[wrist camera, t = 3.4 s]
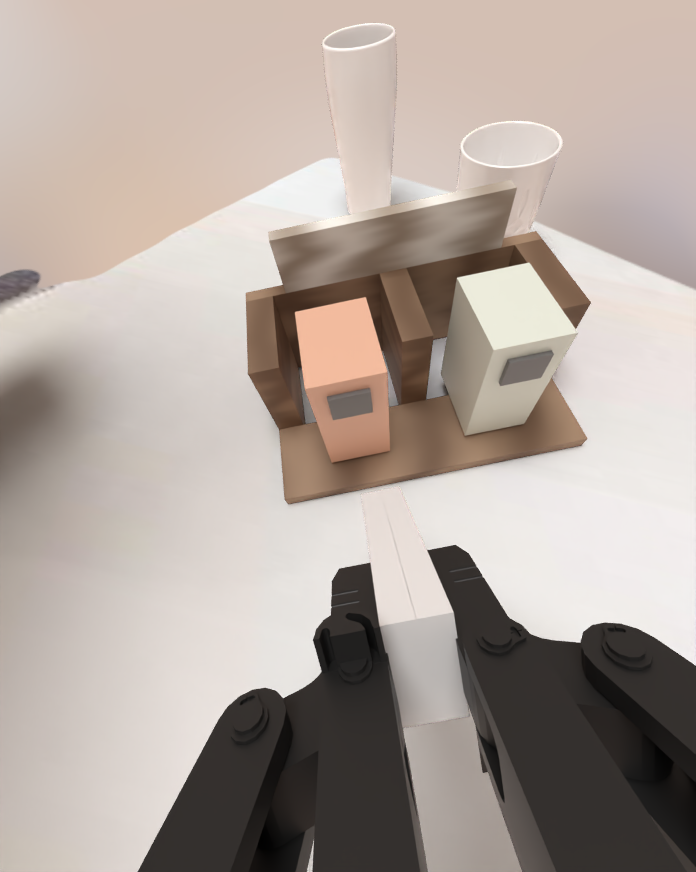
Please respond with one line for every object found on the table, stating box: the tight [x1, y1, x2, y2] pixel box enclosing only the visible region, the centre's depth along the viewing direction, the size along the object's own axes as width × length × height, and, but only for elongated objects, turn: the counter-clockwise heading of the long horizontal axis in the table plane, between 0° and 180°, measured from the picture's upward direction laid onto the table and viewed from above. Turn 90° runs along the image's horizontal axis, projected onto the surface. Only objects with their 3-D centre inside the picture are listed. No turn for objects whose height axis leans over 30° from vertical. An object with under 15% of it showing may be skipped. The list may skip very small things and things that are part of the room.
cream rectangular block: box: [441, 263, 578, 436], centre depth 24 cm, size 4×6×9 cm
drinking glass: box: [322, 23, 397, 214], centre depth 38 cm, size 7×7×15 cm
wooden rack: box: [246, 180, 591, 504], centre depth 25 cm, size 22×14×12 cm, turn 100°
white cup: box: [456, 121, 563, 238], centre depth 34 cm, size 8×8×10 cm
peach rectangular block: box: [295, 297, 390, 463], centre depth 24 cm, size 4×6×9 cm
